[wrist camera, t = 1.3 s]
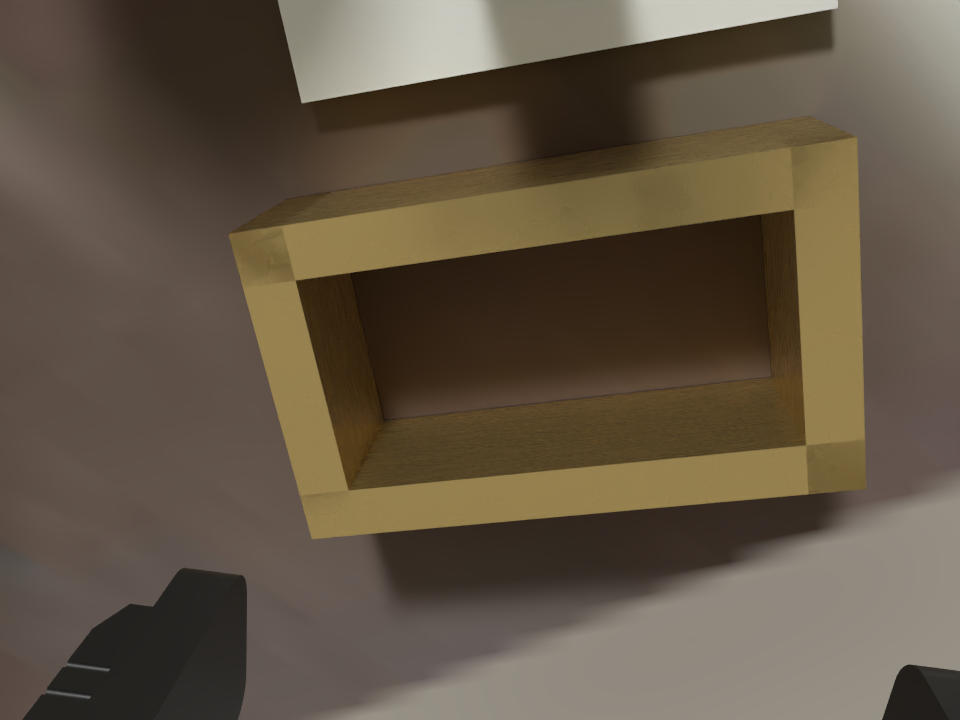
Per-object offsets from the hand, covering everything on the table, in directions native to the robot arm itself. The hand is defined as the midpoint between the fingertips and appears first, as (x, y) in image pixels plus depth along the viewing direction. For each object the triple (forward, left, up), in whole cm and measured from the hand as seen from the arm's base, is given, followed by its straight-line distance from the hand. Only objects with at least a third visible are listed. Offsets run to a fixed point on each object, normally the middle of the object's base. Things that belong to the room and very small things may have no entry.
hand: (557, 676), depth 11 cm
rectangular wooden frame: (+1, 0, -16) cm, 16 cm away
